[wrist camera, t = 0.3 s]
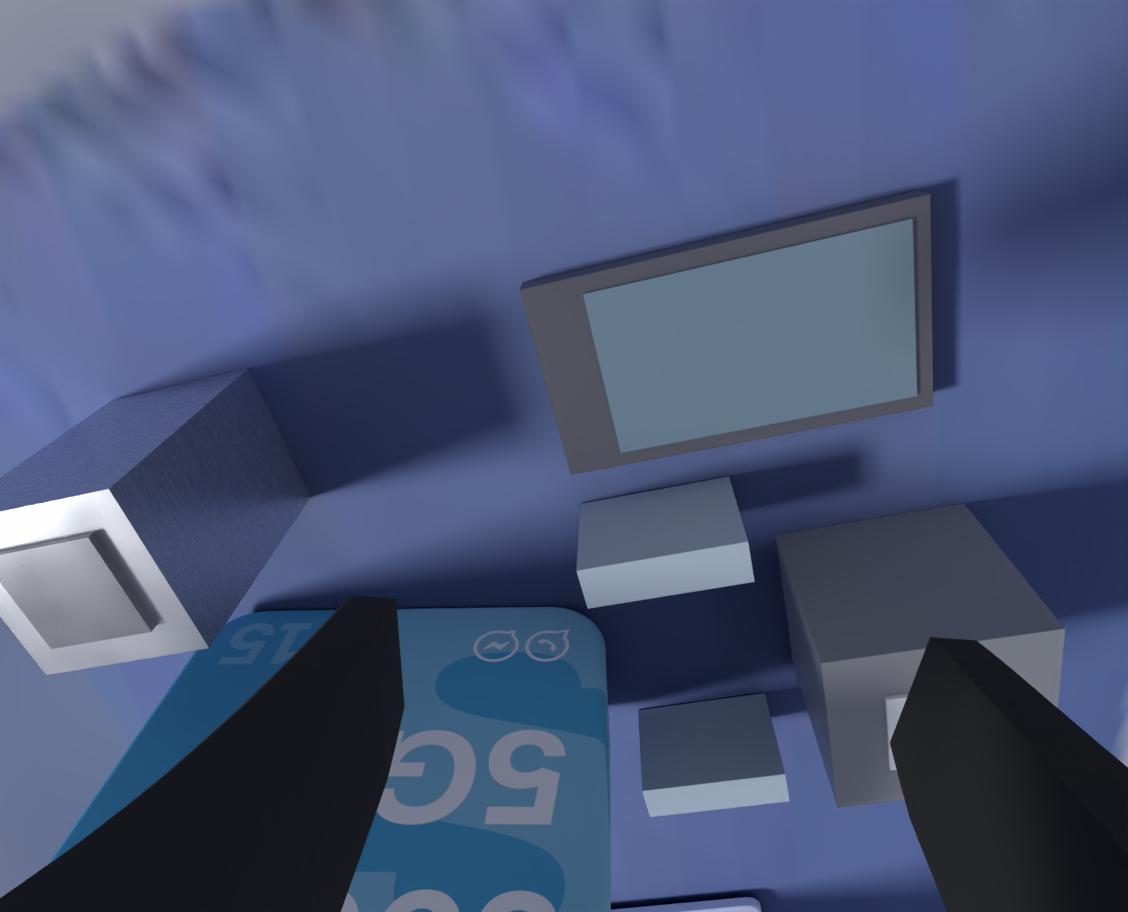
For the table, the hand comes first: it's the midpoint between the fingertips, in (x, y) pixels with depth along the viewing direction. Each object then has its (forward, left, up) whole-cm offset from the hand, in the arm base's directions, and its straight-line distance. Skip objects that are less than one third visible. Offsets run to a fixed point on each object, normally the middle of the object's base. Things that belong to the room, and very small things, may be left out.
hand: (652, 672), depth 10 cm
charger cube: (-8, -6, -10) cm, 14 cm away
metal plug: (+1, +11, -10) cm, 15 cm away
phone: (+1, -3, -10) cm, 11 cm away
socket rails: (-8, 0, -10) cm, 12 cm away
